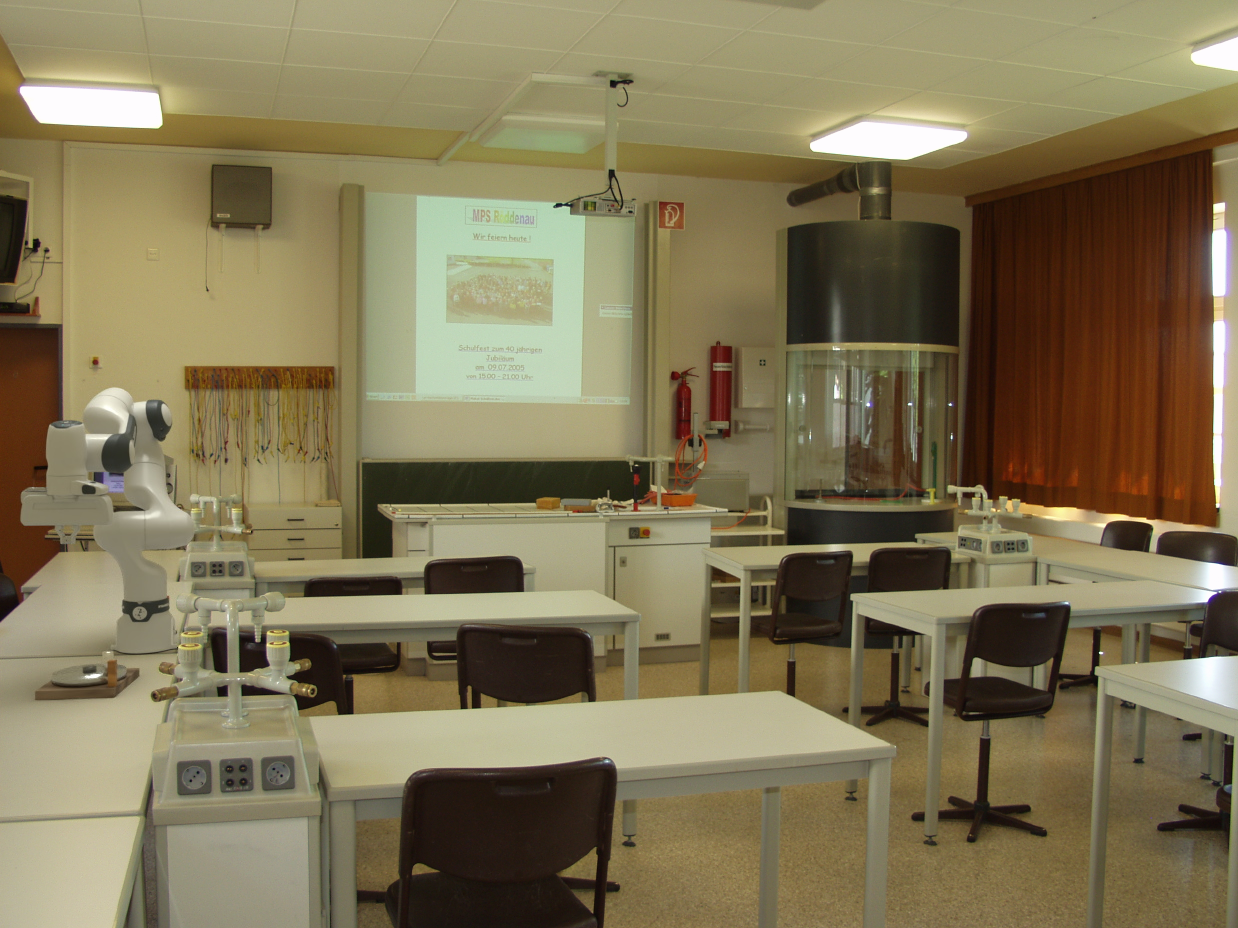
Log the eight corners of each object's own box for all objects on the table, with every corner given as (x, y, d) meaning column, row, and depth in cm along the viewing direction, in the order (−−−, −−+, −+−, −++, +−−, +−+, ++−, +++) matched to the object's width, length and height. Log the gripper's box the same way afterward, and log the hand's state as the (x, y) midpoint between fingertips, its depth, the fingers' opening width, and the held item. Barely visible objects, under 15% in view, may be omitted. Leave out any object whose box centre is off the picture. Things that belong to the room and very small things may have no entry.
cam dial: (36, 680, 240) (36, 650, 239) (99, 666, 254) (99, 638, 253) (79, 689, 232) (79, 658, 232) (141, 674, 246) (141, 645, 246)
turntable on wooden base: (66, 677, 251) (66, 645, 251) (139, 675, 254) (139, 644, 254) (35, 699, 232) (34, 665, 231) (114, 697, 235) (114, 663, 234)
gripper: (15, 488, 241) (16, 545, 241) (107, 487, 244) (108, 544, 245) (26, 486, 247) (26, 542, 248) (115, 486, 251) (116, 541, 251)
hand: (68, 543), depth 246 cm, fingers closed
